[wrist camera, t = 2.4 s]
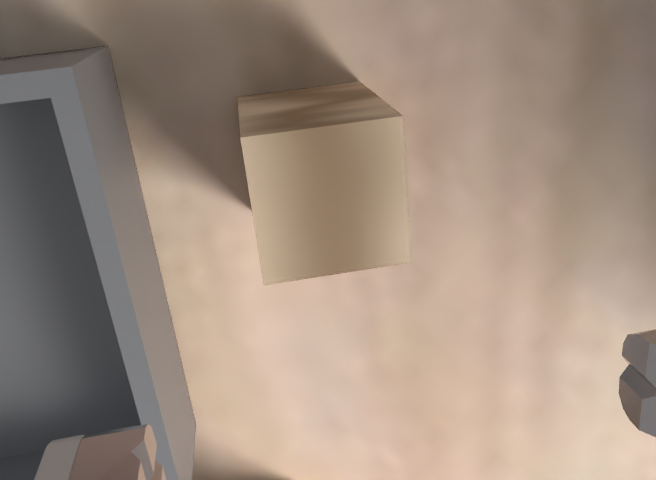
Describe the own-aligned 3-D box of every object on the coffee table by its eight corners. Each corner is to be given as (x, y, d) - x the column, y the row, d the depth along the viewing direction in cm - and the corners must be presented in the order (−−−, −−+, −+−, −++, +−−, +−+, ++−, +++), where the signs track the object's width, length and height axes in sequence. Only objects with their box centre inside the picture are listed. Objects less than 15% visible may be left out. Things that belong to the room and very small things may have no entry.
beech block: (359, 81, 26) (403, 115, 19) (368, 196, 27) (410, 262, 21) (237, 97, 25) (240, 137, 19) (255, 212, 27) (263, 285, 21)
